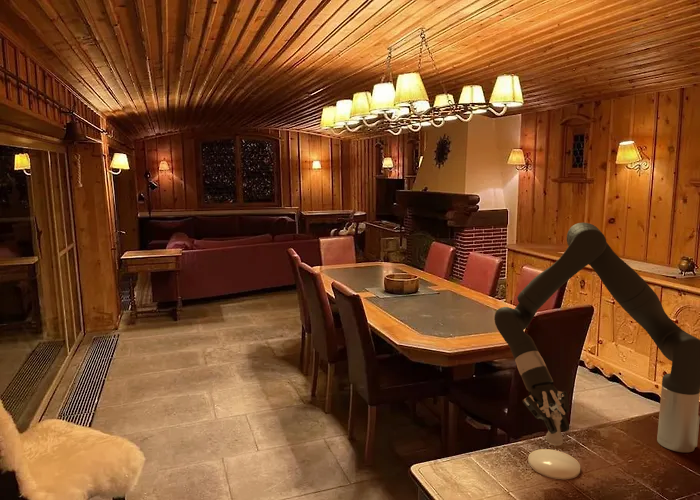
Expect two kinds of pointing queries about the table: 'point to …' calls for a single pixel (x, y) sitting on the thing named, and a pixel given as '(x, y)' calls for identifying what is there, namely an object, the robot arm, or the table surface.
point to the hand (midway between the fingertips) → (560, 431)
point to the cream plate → (554, 464)
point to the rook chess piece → (557, 437)
